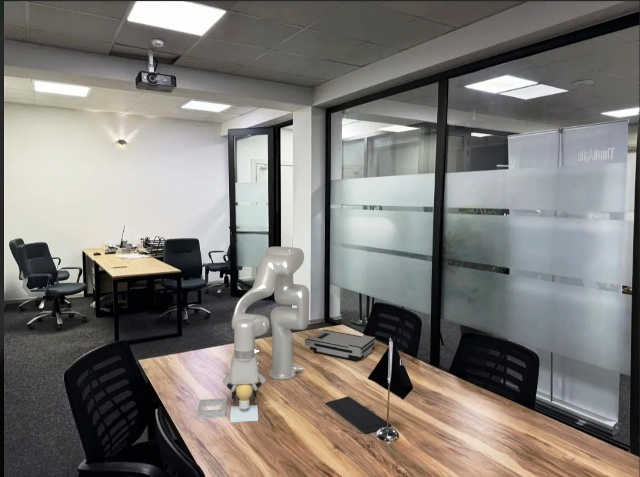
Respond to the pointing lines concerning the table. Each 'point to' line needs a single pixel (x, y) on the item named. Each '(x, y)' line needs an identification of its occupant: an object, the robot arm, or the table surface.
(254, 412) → the pad
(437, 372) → the table surface
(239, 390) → the light bulb
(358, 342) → the game console
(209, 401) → the frame
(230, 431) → the table surface
